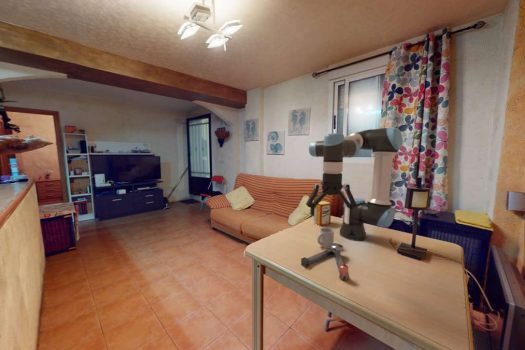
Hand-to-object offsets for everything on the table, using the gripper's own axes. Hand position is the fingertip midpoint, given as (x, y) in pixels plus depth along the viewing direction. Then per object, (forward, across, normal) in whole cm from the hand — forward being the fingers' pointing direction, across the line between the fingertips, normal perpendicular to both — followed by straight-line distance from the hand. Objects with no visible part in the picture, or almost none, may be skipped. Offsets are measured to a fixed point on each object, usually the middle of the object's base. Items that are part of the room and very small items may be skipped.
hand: (330, 223), depth 82 cm
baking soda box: (+22, -16, -58) cm, 64 cm away
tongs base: (+22, -1, -10) cm, 25 cm away
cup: (+23, -7, -25) cm, 34 cm away
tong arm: (+22, -7, -6) cm, 24 cm away
